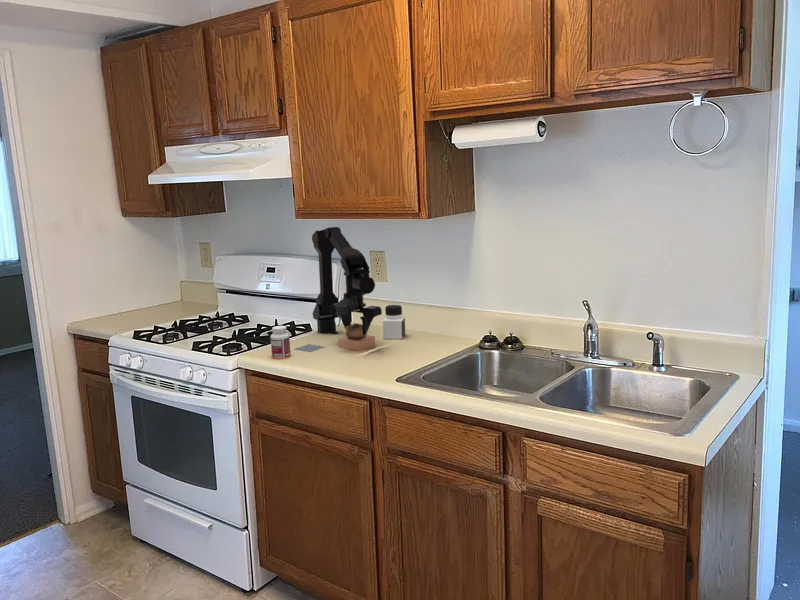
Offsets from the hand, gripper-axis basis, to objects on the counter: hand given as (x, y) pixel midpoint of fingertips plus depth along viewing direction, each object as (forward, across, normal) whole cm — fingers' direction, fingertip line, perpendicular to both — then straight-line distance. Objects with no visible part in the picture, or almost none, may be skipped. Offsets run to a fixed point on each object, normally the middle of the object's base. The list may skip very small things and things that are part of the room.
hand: (356, 333), depth 244 cm
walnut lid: (0, 0, 0) cm, 0 cm away
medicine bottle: (+6, +2, +20) cm, 21 cm away
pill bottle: (+6, -14, -23) cm, 27 cm away
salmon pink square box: (+5, 0, 0) cm, 5 cm away
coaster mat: (+5, -13, -10) cm, 17 cm away
